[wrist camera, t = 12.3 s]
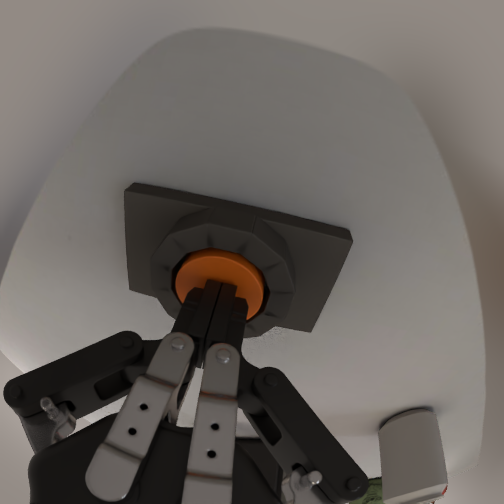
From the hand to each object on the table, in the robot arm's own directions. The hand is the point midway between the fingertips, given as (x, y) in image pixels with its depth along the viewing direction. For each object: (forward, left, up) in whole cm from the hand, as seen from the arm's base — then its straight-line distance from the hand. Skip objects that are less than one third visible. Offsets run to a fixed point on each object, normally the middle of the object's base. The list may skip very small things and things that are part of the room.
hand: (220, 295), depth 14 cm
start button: (0, 0, -2) cm, 2 cm away
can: (+24, -18, -3) cm, 30 cm away
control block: (0, 0, -3) cm, 3 cm away
